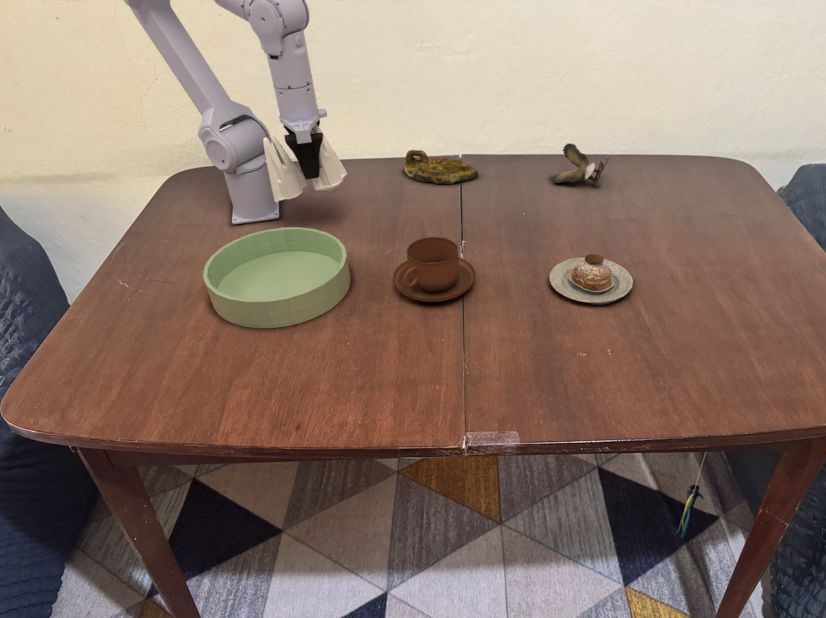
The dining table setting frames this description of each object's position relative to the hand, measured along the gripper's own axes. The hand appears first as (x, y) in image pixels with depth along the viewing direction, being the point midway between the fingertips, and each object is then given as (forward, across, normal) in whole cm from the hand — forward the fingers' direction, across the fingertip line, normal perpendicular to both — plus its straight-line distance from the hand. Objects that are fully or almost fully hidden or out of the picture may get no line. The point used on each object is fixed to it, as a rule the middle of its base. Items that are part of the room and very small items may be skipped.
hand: (311, 171), depth 102 cm
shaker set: (+4, 0, 0) cm, 4 cm away
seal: (+11, +16, -24) cm, 31 cm away
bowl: (+10, -16, +7) cm, 20 cm away
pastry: (+12, -28, -36) cm, 48 cm away
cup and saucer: (+11, -22, -15) cm, 29 cm away
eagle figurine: (+11, +5, -48) cm, 49 cm away
